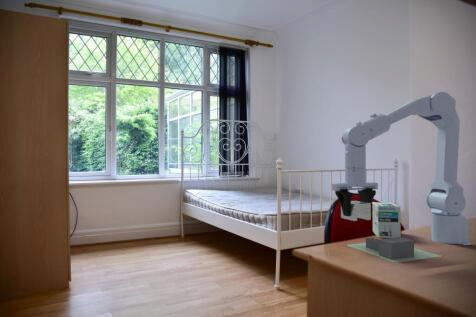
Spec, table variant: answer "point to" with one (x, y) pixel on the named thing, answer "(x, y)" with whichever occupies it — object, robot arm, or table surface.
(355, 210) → the pale grey block
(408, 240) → the thin light green sheet
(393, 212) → the light bulb box
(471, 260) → the table surface
